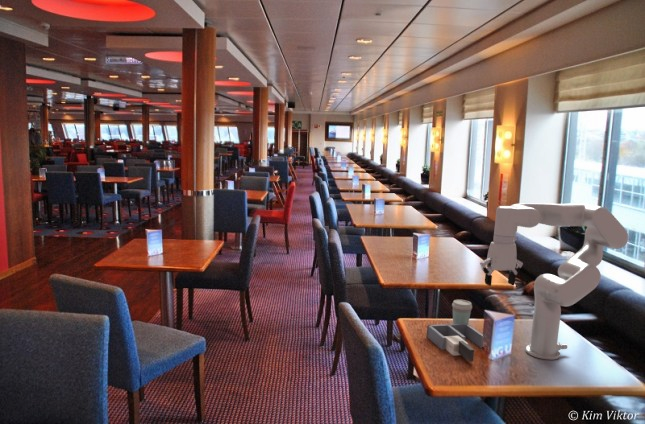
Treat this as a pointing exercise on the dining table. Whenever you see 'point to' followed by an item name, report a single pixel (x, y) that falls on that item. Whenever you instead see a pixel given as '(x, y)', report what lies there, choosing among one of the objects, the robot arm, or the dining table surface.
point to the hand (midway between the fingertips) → (499, 284)
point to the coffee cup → (461, 311)
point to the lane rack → (453, 334)
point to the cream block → (459, 347)
